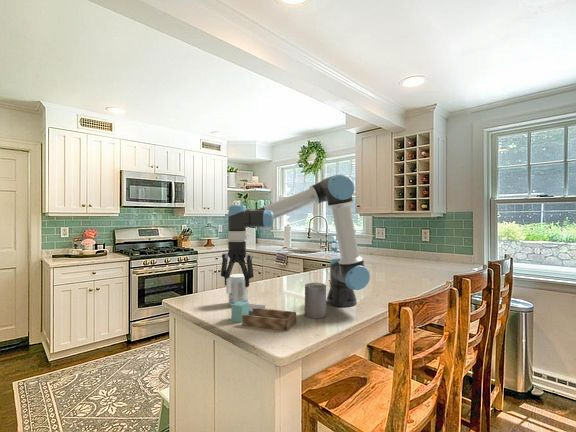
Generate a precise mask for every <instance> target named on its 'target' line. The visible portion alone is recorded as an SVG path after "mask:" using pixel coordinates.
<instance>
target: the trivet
mask: <svg viewBox="0 0 576 432" xmlns="http://www.w3.org/2000/svg"><path fill="white" fill-rule="evenodd" d="M253 308H263V309H266V305H263V304H252V303H249V315H253Z"/></svg>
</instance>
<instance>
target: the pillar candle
mask: <svg viewBox="0 0 576 432" xmlns="http://www.w3.org/2000/svg"><path fill="white" fill-rule="evenodd" d="M326 315H327V285H326V284H325V283H322V282H316V281H315V282H308V283H305V284H304V316H305V317H306V318H309V319H322V318H325V317H326Z"/></svg>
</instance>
